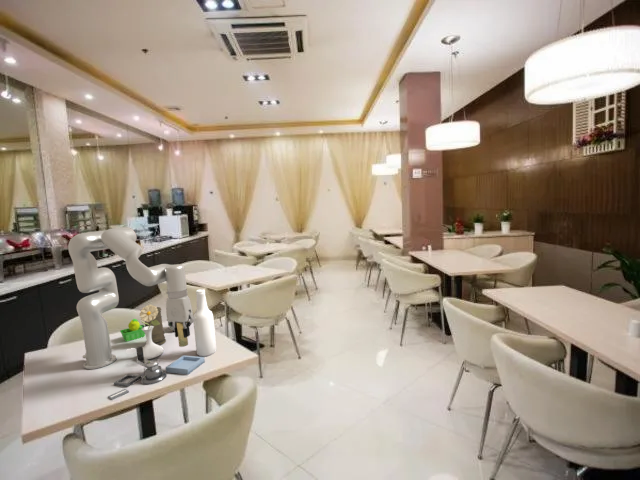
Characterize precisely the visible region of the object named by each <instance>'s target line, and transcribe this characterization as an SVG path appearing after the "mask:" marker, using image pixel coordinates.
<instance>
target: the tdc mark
mask: <svg viewBox="0 0 640 480" xmlns="http://www.w3.org/2000/svg"><path fill="white" fill-rule="evenodd" d="M128 393H130V391H129V390H128V389H126V388H123V389H121V390H119V391H117V392H115V393H112V394H110V395H108V396H107V398H108V399H110V400H112V401H113V400H115V399H116V398H119V397H122V396H123V395H125V394H128Z"/></svg>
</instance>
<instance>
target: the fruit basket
mask: <svg viewBox="0 0 640 480" xmlns="http://www.w3.org/2000/svg"><path fill="white" fill-rule="evenodd" d="M127 327H128V328H125V329H121V330H120V333H121V335H122V339H123V340H124V342H130V341H134V339H135V340H137V338H138V339H140V338H141V337H142V338H144V336H145V337H146V335H145V333H144V331H143V330H142V328H144V327H145V324H141V323H140V322H139V321H138V319H136V318H133V319H131V321H129V323H128V325H127ZM142 338H141V339H142Z"/></svg>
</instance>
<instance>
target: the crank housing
mask: <svg viewBox="0 0 640 480" xmlns="http://www.w3.org/2000/svg"><path fill="white" fill-rule="evenodd" d="M162 369H163V368H162V366H161V365H158V369H156V370H154V371H152V370H150V369H148V368H146V369H145V370H144V376H143V377H142V375H140V374H130V373H127V374H125V375H124V376H122V377H121V378H119V379H117V380H115V381H114V382H113V386H115V387H124V388H129V387H130V386H132V385H134V384H135V383H137V382H138V381H139V380H141V384H143V385H154V384H157V383H160V382H162V381H164V380H165V379H166V378H167V372H166V371H164V370H162ZM128 379H131V380H129V381H128V382H127V381H126V380H128Z"/></svg>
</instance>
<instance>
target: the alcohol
mask: <svg viewBox="0 0 640 480" xmlns="http://www.w3.org/2000/svg"><path fill="white" fill-rule="evenodd" d="M195 295H196V310H195V312H194V313H193V317H194V319H195V321H194V322H193V323H192V324H193V331H194V339H195V341H194V342H195V349H196V354H197V356H198V357H204V358H205V357H209V356H212V355H214V354H215V353H216V351H217V342H216V341H217V340H216V333H215V332H216V329H215V321H214V320H215V319H214V314H213V311H212V310H210V309H209V306H208V302H207V297H206V289H204V288H200V289H197V290H195Z"/></svg>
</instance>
